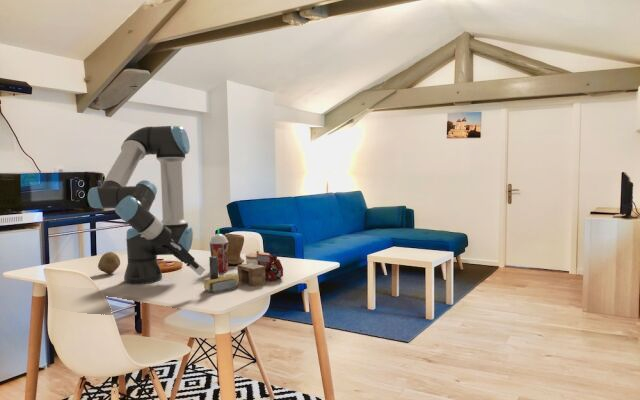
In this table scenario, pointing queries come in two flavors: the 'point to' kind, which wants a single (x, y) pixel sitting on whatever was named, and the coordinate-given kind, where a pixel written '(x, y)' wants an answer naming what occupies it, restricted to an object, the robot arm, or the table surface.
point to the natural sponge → (109, 262)
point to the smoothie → (220, 251)
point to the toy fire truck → (270, 266)
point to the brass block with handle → (217, 274)
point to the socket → (251, 274)
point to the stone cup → (234, 248)
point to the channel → (223, 286)
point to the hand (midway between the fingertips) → (202, 272)
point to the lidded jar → (253, 257)
